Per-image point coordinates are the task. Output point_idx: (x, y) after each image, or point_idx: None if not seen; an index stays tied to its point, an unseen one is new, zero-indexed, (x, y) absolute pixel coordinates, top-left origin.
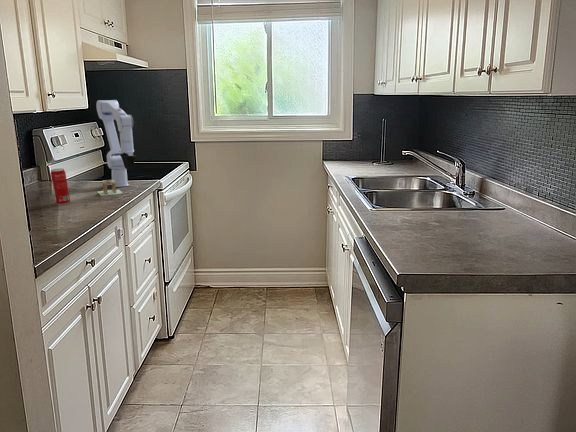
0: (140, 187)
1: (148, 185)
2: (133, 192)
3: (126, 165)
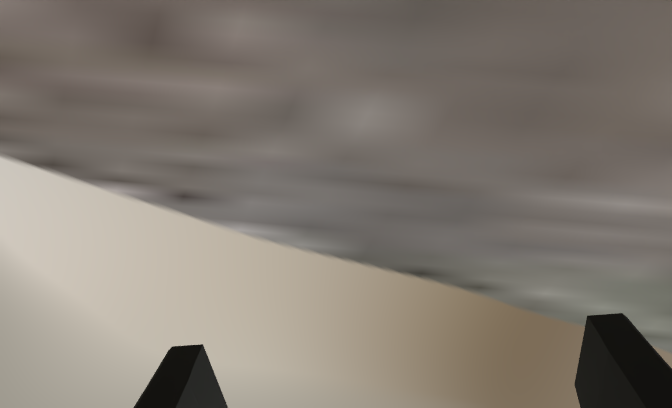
0: (534, 225)
1: (608, 306)
2: (212, 120)
3: (611, 405)
